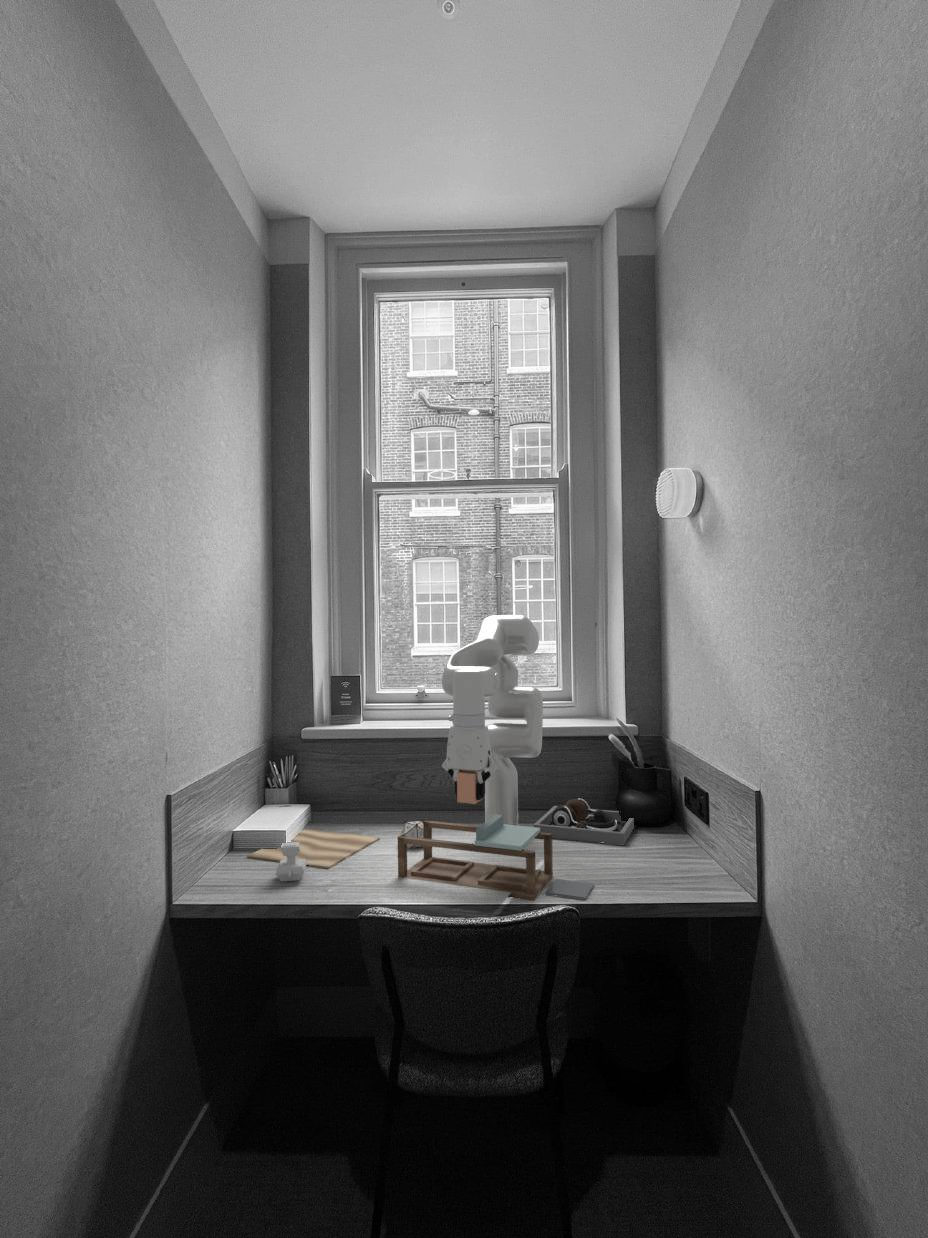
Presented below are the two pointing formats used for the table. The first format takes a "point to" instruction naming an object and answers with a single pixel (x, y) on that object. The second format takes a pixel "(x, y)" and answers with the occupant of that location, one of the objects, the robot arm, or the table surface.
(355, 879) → the table surface
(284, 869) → the stamp
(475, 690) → the robot arm
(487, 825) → the lid
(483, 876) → the frame
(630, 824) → the tray rim
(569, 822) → the headset
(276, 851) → the cork mat
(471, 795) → the block
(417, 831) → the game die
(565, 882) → the coaster
